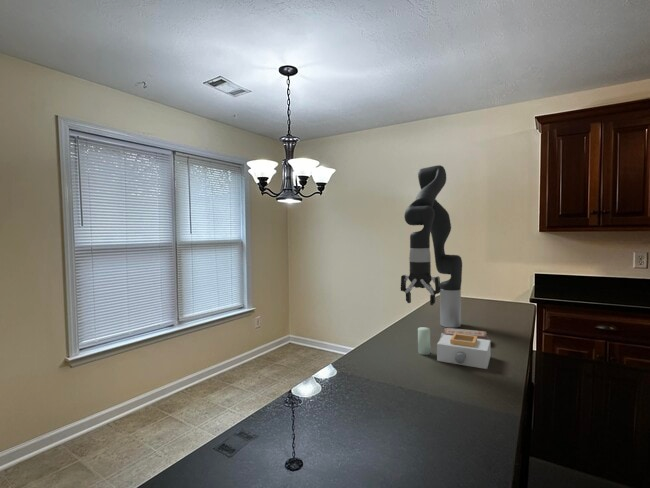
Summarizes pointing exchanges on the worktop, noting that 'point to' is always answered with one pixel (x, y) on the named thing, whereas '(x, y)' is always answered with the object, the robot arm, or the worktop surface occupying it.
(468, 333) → the packaged product
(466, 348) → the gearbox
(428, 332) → the pale green rounded piece
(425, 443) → the worktop surface
